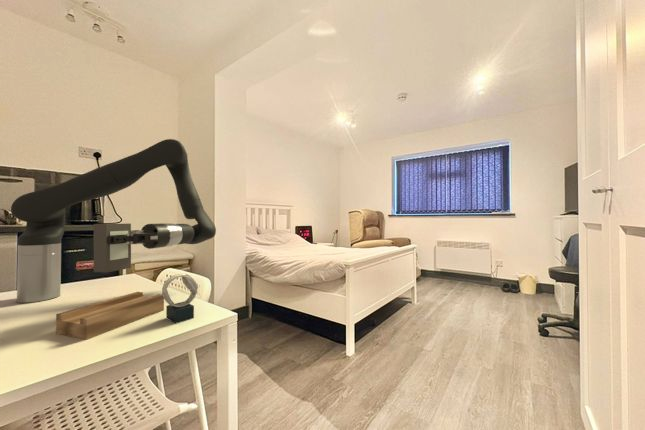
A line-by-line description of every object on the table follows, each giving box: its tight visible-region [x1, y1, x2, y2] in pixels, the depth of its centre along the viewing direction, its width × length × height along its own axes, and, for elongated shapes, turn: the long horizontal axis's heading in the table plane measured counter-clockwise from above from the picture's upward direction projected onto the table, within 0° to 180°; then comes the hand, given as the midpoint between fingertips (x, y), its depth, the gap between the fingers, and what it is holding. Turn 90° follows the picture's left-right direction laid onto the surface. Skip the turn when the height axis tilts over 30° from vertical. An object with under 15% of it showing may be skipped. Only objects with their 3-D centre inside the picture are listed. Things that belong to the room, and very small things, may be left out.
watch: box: [161, 273, 199, 325], centre depth 64 cm, size 6×8×11 cm
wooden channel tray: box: [55, 291, 165, 340], centre depth 63 cm, size 10×18×4 cm, turn 163°
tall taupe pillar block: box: [93, 223, 132, 273], centre depth 66 cm, size 5×6×12 cm
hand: (101, 239), depth 63 cm, fingers closed on tall taupe pillar block, 4 cm apart
